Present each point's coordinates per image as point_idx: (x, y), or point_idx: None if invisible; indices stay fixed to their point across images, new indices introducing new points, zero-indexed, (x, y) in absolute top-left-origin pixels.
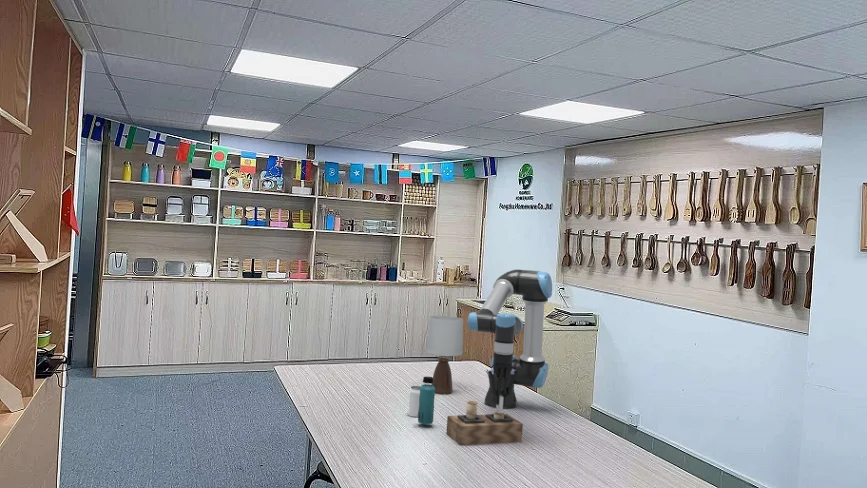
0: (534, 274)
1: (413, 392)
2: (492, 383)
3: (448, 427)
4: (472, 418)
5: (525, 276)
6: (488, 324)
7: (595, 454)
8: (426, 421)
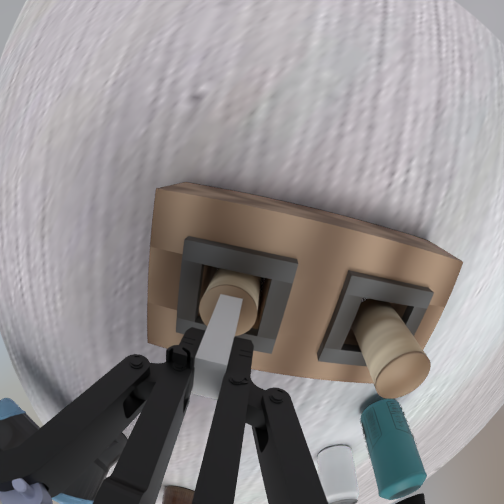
0: None
1: (358, 492)
2: (313, 480)
3: None
4: (392, 310)
5: None
6: None
7: (68, 39)
8: (395, 403)
